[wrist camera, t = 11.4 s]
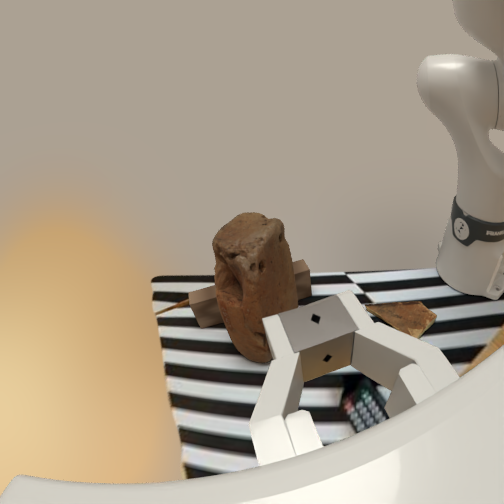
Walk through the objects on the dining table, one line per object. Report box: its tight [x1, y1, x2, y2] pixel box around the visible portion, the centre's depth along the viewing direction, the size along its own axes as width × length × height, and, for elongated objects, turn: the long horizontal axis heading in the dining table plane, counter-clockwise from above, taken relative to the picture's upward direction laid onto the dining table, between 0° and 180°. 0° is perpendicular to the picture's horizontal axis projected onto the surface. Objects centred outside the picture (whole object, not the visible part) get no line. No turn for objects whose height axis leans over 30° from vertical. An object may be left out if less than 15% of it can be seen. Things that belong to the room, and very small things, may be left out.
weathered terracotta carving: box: [212, 212, 298, 363], centre depth 40 cm, size 11×8×20 cm
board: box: [189, 259, 312, 329], centre depth 50 cm, size 20×3×6 cm, turn 103°
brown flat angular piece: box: [365, 301, 437, 339], centre depth 43 cm, size 11×8×2 cm
